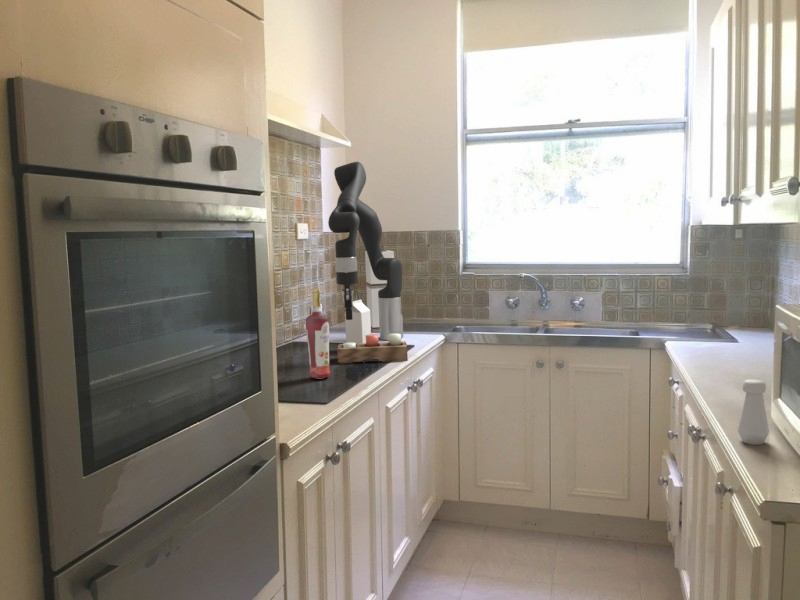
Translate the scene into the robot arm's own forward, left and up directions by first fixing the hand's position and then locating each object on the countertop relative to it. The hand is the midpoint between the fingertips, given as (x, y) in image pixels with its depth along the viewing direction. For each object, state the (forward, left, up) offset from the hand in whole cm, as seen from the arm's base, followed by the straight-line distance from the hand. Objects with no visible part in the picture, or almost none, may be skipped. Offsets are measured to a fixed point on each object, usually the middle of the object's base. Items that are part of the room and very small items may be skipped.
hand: (349, 319), depth 239 cm
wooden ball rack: (-5, +6, -14) cm, 16 cm away
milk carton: (-16, -9, -15) cm, 23 cm away
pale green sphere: (0, 0, -12) cm, 12 cm away
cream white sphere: (-10, +12, -9) cm, 18 cm away
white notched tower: (-60, -31, -15) cm, 69 cm away
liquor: (+26, +9, -15) cm, 31 cm away
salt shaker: (+28, +131, -15) cm, 135 cm away
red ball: (-5, +6, -9) cm, 12 cm away
